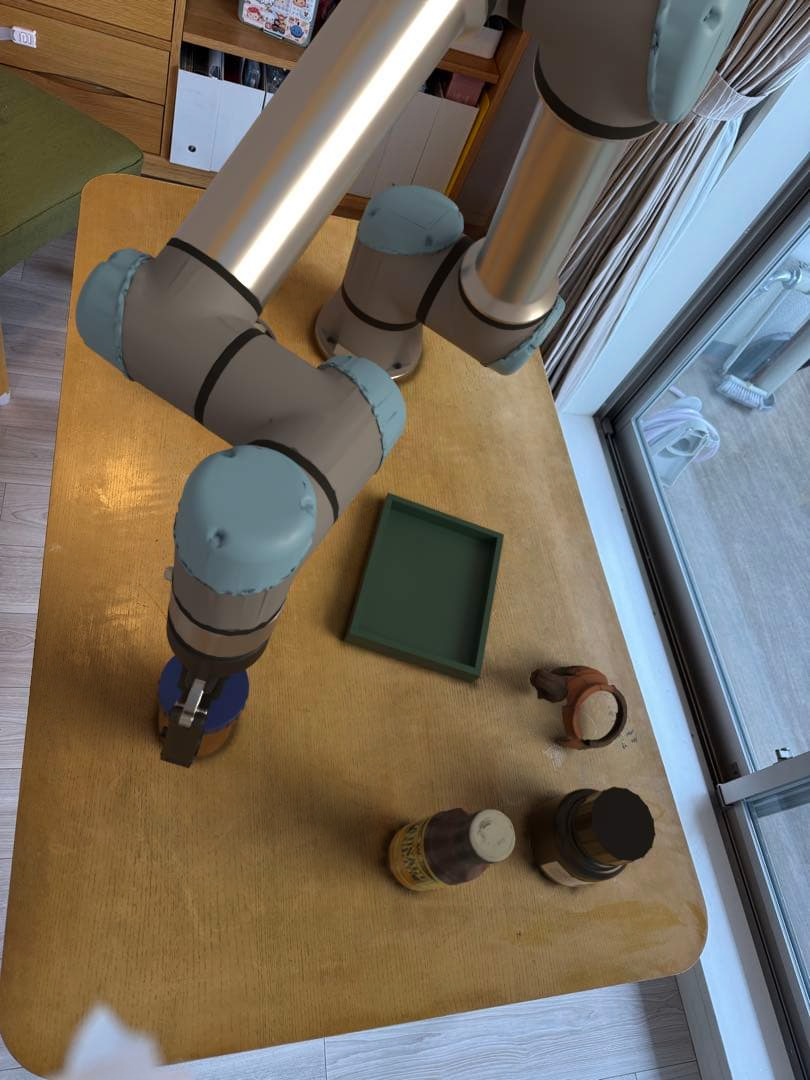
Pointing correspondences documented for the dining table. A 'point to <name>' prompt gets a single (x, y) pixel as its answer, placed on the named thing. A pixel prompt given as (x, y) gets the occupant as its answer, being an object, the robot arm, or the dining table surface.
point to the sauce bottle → (449, 848)
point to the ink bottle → (590, 835)
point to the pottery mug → (578, 701)
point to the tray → (427, 589)
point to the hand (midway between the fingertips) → (199, 705)
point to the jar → (208, 741)
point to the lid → (221, 709)
